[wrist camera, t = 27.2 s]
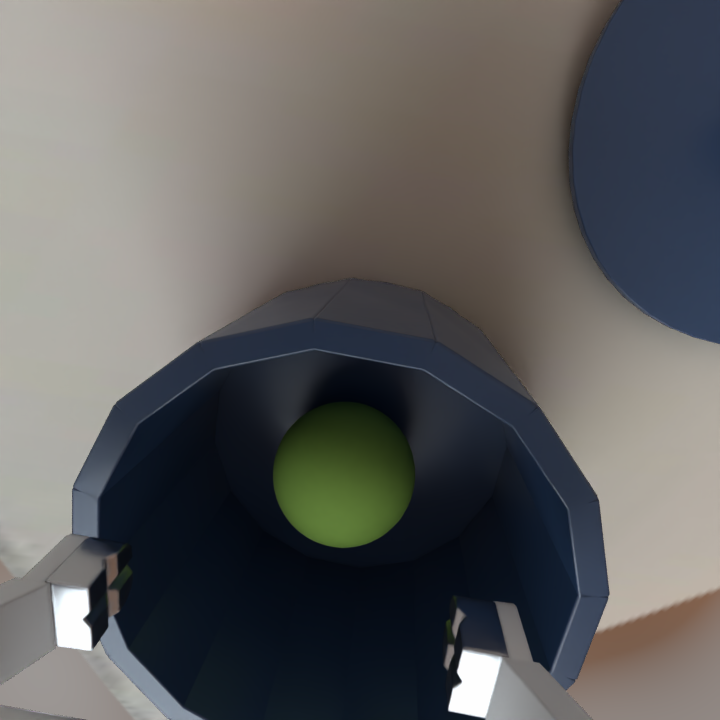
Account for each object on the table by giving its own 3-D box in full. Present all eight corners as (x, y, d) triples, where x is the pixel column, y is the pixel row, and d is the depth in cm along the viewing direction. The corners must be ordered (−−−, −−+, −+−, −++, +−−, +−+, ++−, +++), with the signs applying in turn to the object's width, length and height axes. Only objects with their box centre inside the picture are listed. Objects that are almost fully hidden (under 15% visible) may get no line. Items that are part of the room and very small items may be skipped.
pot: (163, 318, 22) (-13, 386, 12) (493, 245, 19) (573, 262, 10) (252, 588, 25) (167, 796, 16) (539, 550, 23) (629, 763, 14)
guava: (304, 373, 21) (254, 421, 16) (429, 396, 21) (421, 454, 15) (293, 484, 23) (245, 560, 18) (409, 509, 22) (395, 597, 17)
